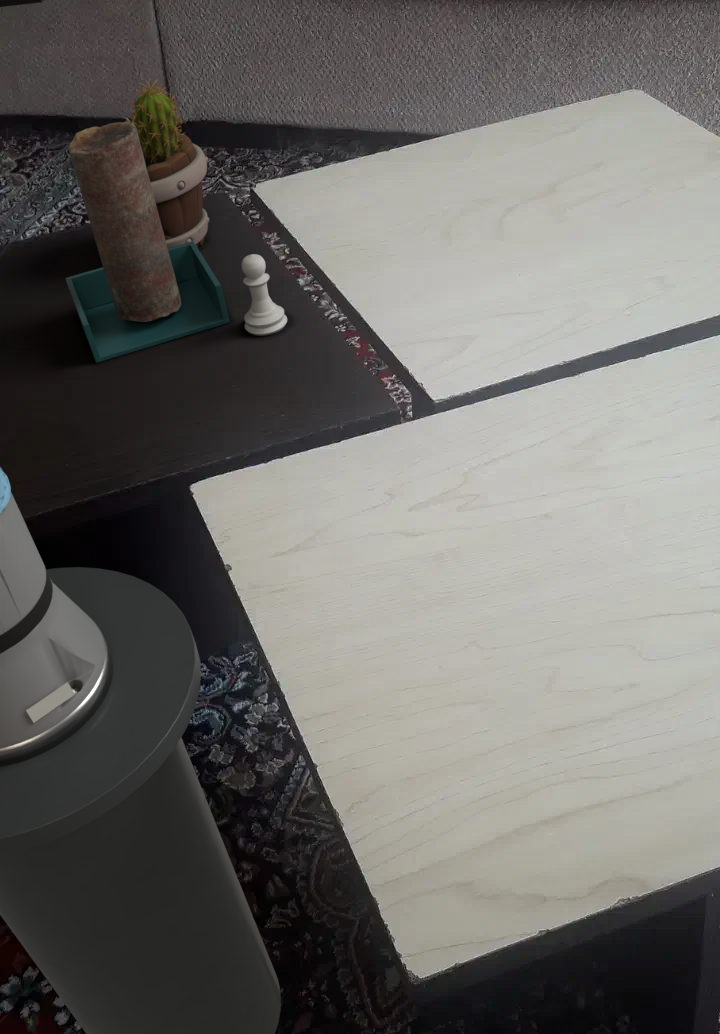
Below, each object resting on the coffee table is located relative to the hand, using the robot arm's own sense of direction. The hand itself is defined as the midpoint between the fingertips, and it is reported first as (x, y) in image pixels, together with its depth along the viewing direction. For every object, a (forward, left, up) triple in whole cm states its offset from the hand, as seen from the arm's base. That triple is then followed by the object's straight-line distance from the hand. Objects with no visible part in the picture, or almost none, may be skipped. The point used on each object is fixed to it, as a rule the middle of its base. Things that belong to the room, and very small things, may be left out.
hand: (11, 7), depth 98 cm
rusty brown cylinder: (+4, -2, -32) cm, 32 cm away
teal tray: (+4, 0, -32) cm, 32 cm away
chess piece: (+15, -11, -32) cm, 37 cm away
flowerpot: (+10, +15, -32) cm, 37 cm away
